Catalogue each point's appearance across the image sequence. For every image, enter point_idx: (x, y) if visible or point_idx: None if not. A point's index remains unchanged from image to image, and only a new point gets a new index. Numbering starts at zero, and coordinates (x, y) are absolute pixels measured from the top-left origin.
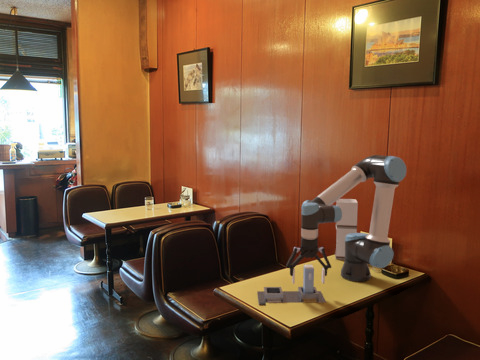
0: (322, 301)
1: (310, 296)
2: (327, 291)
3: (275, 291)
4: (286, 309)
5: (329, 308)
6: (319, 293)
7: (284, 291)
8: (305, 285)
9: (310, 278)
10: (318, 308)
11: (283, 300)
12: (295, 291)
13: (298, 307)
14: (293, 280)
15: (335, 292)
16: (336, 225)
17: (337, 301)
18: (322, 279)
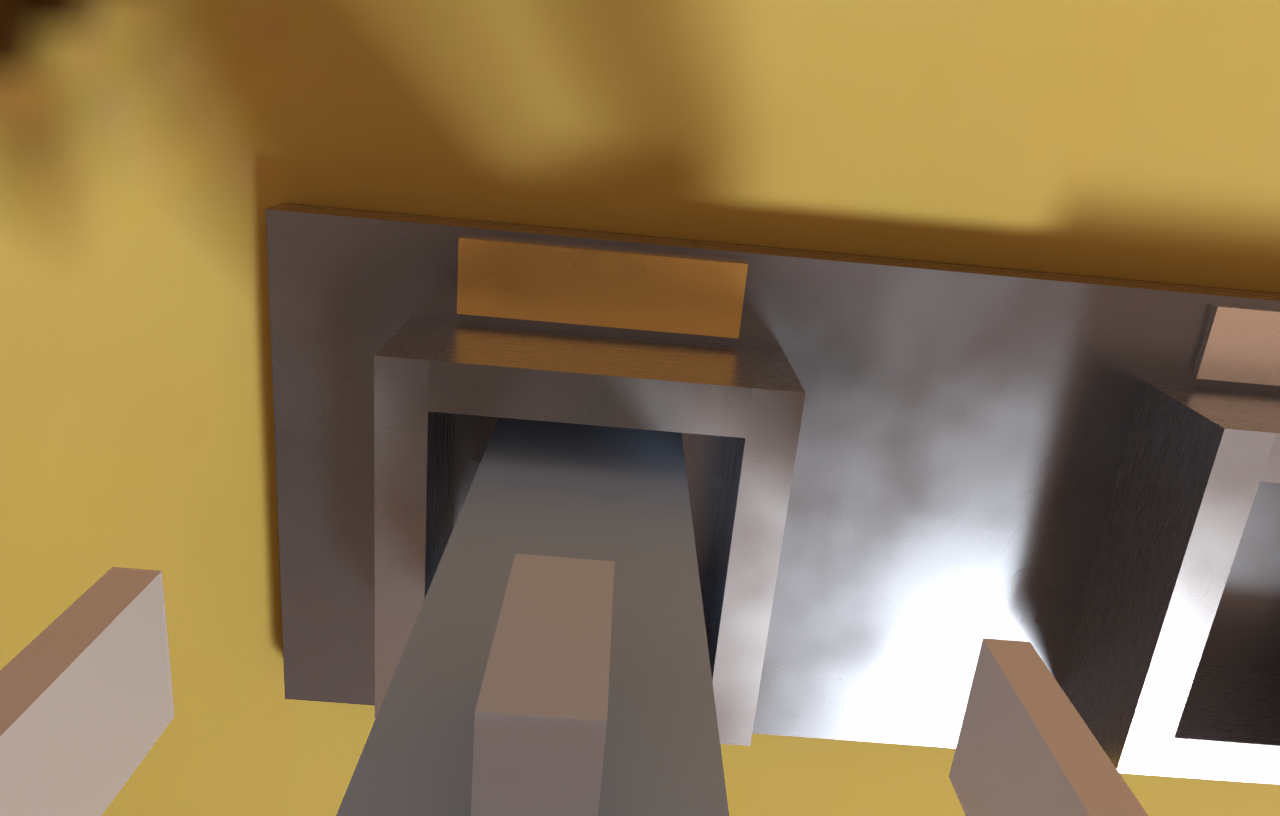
0: (341, 254)
1: (579, 353)
2: None
3: (1204, 693)
4: (1168, 58)
5: (251, 7)
6: (327, 608)
7: None
8: (677, 561)
9: (545, 582)
10: (487, 33)
11: (1135, 379)
12: (765, 725)
13: (890, 126)
14: (1050, 700)
15: None
16: None
17: (29, 314)
18: (113, 687)
